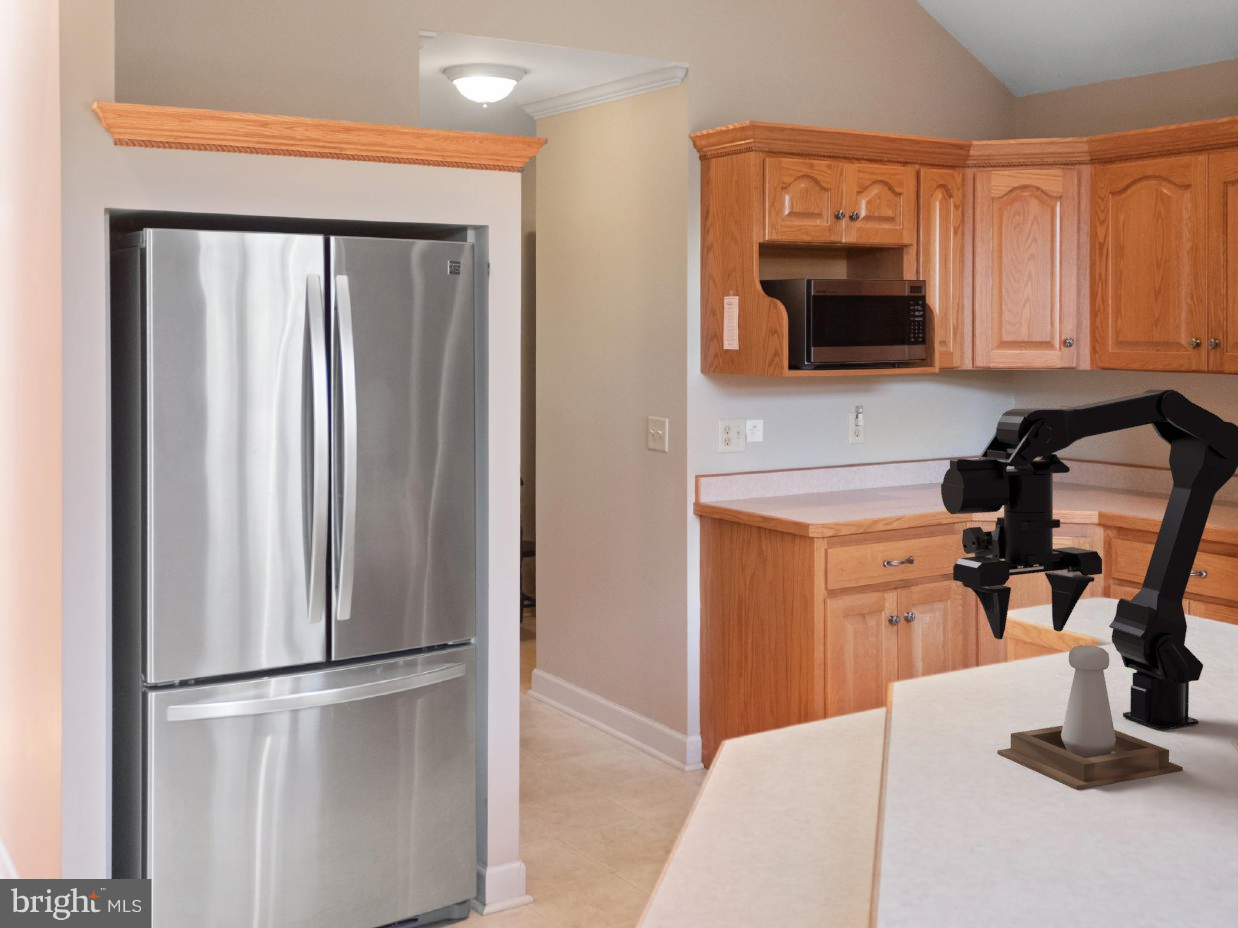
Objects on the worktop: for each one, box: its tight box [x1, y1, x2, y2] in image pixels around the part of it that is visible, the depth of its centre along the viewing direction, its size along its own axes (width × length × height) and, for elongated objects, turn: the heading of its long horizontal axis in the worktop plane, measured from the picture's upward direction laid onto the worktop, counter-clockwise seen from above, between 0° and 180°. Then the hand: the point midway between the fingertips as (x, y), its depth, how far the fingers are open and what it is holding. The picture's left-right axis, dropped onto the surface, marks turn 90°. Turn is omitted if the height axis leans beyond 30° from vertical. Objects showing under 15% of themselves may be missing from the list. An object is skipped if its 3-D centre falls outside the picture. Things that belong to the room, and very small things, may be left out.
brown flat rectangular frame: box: [996, 724, 1184, 790], centre depth 133 cm, size 15×13×2 cm
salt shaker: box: [1061, 644, 1116, 758], centre depth 132 cm, size 6×6×13 cm
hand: (1028, 634), depth 143 cm, fingers open, 9 cm apart
